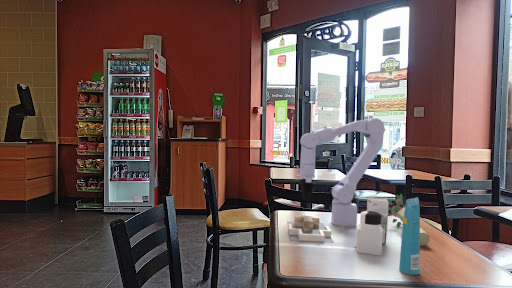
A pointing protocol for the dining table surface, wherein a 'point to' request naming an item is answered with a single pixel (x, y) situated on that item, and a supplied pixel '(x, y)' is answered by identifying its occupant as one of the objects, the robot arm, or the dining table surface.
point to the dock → (310, 236)
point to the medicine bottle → (370, 233)
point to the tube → (410, 238)
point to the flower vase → (399, 213)
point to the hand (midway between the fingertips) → (305, 198)
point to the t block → (306, 222)
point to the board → (309, 232)
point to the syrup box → (382, 208)
